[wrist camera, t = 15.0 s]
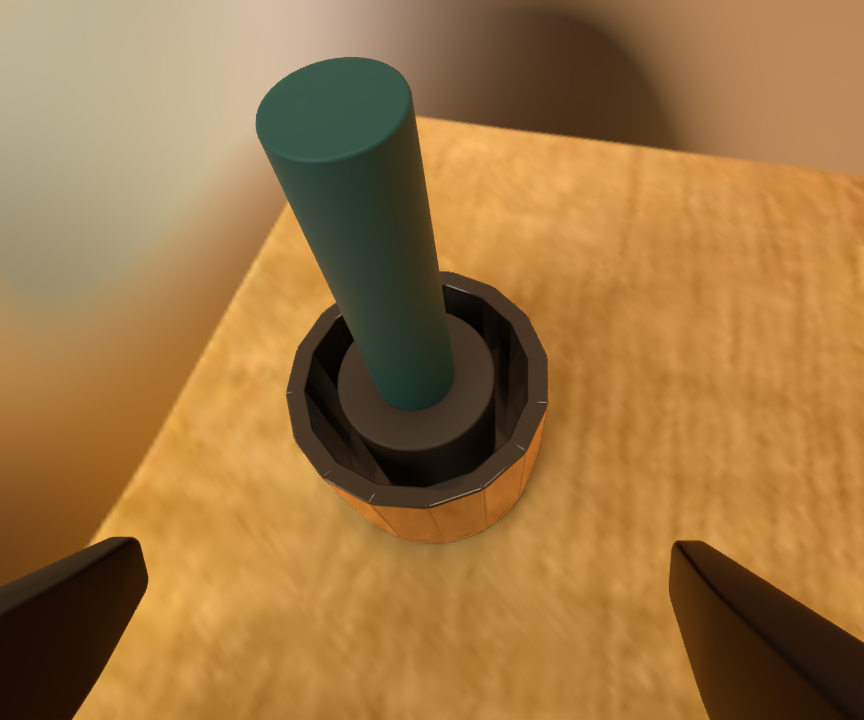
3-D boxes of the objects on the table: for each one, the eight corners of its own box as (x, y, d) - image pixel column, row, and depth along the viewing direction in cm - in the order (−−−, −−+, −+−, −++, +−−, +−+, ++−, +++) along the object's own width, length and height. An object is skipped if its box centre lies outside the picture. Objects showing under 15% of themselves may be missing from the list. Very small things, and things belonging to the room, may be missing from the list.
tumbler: (568, 503, 16) (594, 452, 12) (364, 573, 16) (312, 548, 11) (493, 332, 19) (492, 242, 15) (322, 388, 19) (270, 312, 15)
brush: (514, 473, 16) (547, 160, 6) (390, 515, 16) (184, 271, 5) (471, 366, 18) (436, -17, 8) (361, 402, 18) (167, 61, 7)
